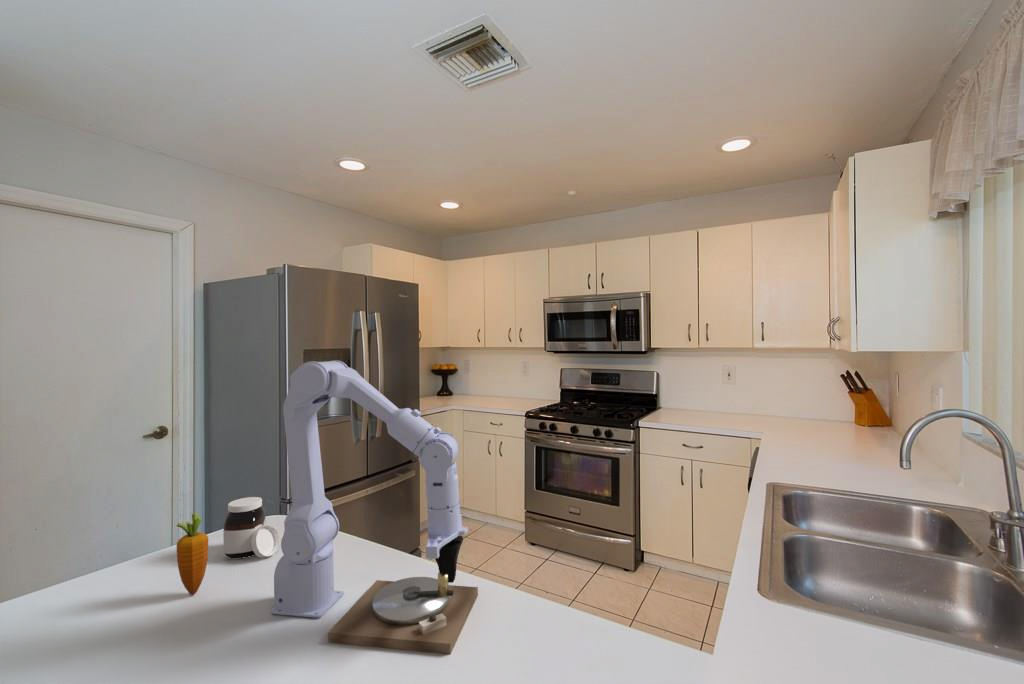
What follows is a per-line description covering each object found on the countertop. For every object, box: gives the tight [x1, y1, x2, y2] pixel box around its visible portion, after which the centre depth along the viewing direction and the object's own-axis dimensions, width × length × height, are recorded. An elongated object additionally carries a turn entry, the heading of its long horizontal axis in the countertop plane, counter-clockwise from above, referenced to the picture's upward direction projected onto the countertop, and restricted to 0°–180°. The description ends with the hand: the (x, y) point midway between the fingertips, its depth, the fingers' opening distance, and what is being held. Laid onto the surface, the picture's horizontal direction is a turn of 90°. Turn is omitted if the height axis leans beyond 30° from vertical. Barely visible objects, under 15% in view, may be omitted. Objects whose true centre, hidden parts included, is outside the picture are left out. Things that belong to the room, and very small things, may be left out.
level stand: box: [327, 579, 479, 655], centre depth 78 cm, size 20×16×3 cm
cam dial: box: [373, 572, 453, 625], centre depth 79 cm, size 14×13×5 cm
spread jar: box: [222, 496, 280, 559], centre depth 105 cm, size 12×11×12 cm
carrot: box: [176, 512, 209, 596], centre depth 87 cm, size 5×5×15 cm
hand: (448, 581), depth 81 cm, fingers closed, pressing on cam dial
